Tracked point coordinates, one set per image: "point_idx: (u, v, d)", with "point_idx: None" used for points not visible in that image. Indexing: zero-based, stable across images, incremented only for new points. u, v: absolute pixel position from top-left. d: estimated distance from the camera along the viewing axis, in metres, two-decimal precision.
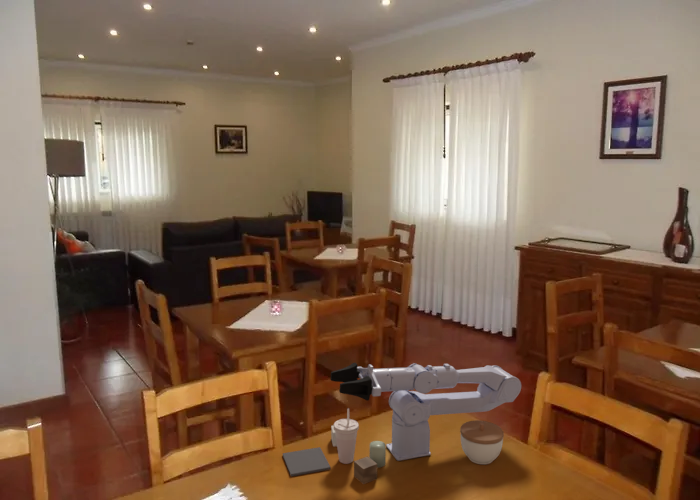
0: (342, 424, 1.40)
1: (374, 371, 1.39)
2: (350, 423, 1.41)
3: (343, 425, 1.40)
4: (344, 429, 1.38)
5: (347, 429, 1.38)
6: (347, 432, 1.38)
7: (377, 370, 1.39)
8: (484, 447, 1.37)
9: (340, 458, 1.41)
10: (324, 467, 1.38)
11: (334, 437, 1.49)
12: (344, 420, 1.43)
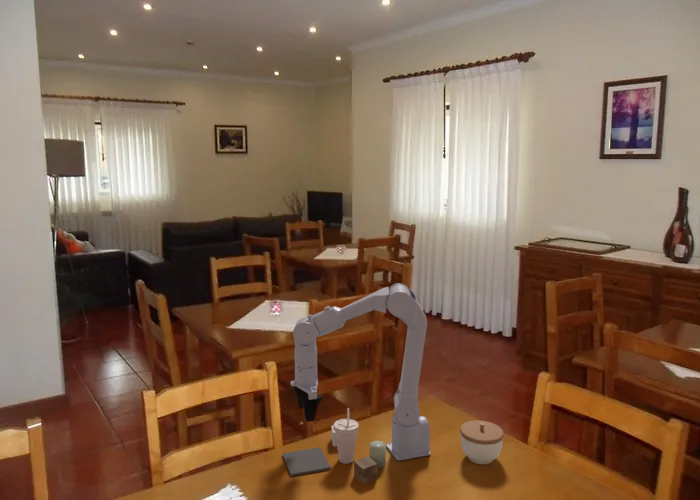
0: (342, 424, 1.40)
1: (296, 381, 1.43)
2: (350, 423, 1.41)
3: (343, 425, 1.40)
4: (344, 429, 1.38)
5: (347, 429, 1.38)
6: (347, 432, 1.38)
7: (296, 377, 1.43)
8: (484, 447, 1.37)
9: (340, 458, 1.41)
10: (324, 467, 1.38)
11: (334, 437, 1.49)
12: (344, 420, 1.43)
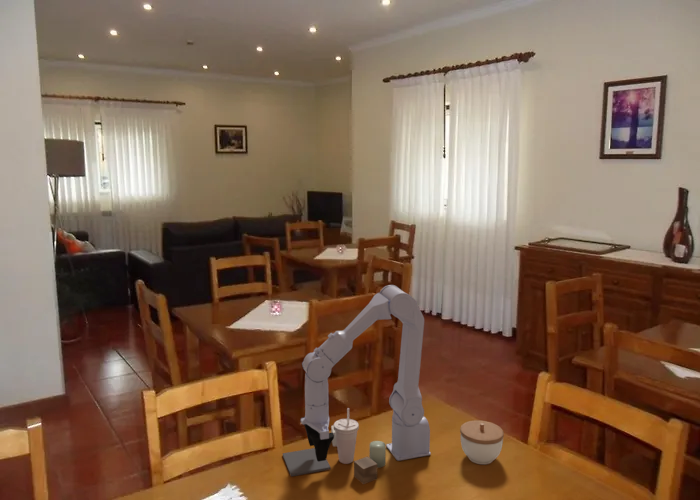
0: (342, 424, 1.40)
1: (307, 419, 1.36)
2: (350, 423, 1.41)
3: (343, 425, 1.40)
4: (344, 429, 1.38)
5: (347, 429, 1.38)
6: (347, 432, 1.38)
7: (306, 415, 1.36)
8: (484, 447, 1.37)
9: (340, 458, 1.41)
10: (324, 467, 1.38)
11: (334, 437, 1.49)
12: (344, 420, 1.43)
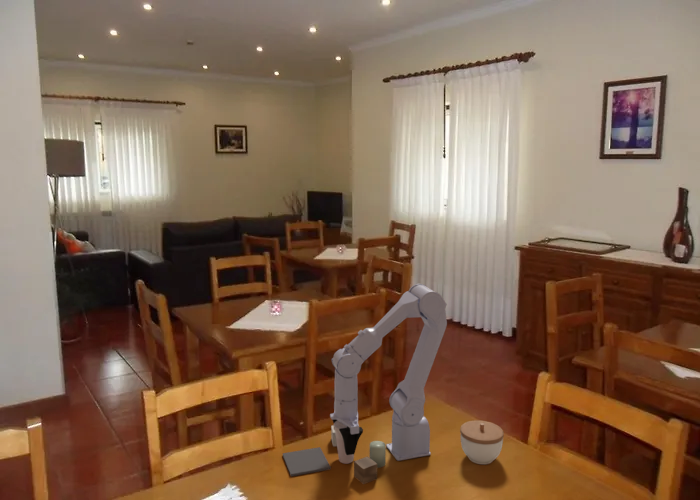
0: (342, 424, 1.41)
1: (336, 414, 1.39)
2: None
3: (343, 425, 1.40)
4: None
5: None
6: None
7: (336, 410, 1.39)
8: (484, 447, 1.37)
9: (340, 458, 1.41)
10: (324, 467, 1.38)
11: (334, 437, 1.49)
12: None
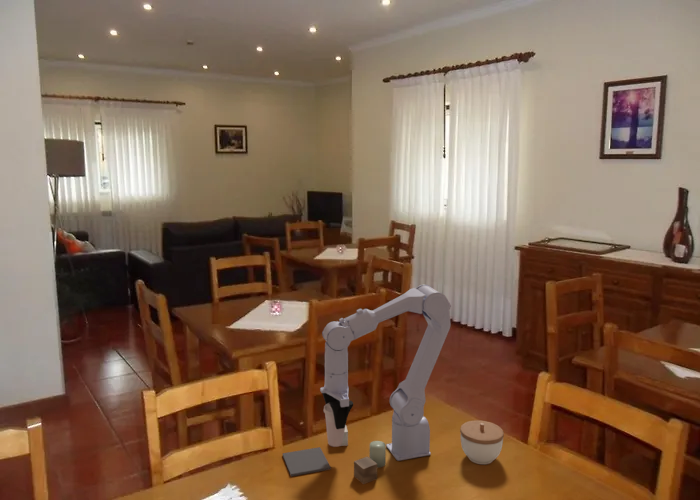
0: None
1: (326, 388, 1.37)
2: None
3: None
4: None
5: None
6: None
7: (326, 384, 1.37)
8: (484, 447, 1.37)
9: (329, 441, 1.40)
10: (324, 467, 1.38)
11: None
12: None
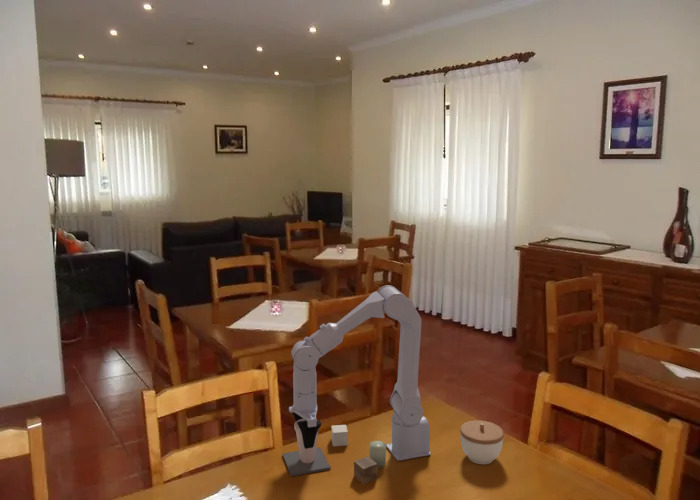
0: None
1: (295, 407, 1.37)
2: None
3: None
4: None
5: None
6: None
7: (294, 403, 1.37)
8: (484, 447, 1.37)
9: (301, 458, 1.40)
10: (324, 467, 1.38)
11: (334, 437, 1.49)
12: None
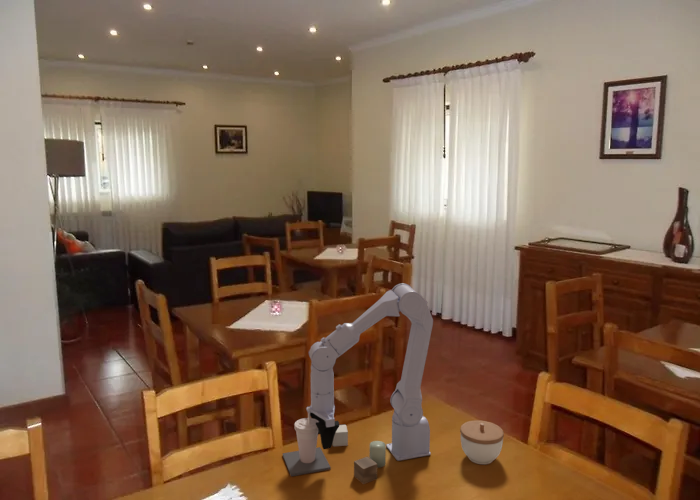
0: (303, 423, 1.40)
1: (312, 407, 1.38)
2: (311, 422, 1.40)
3: (304, 424, 1.39)
4: (304, 428, 1.37)
5: (307, 428, 1.38)
6: (307, 431, 1.37)
7: (312, 403, 1.39)
8: (484, 447, 1.37)
9: (301, 458, 1.40)
10: (324, 467, 1.38)
11: (334, 437, 1.49)
12: (305, 419, 1.42)
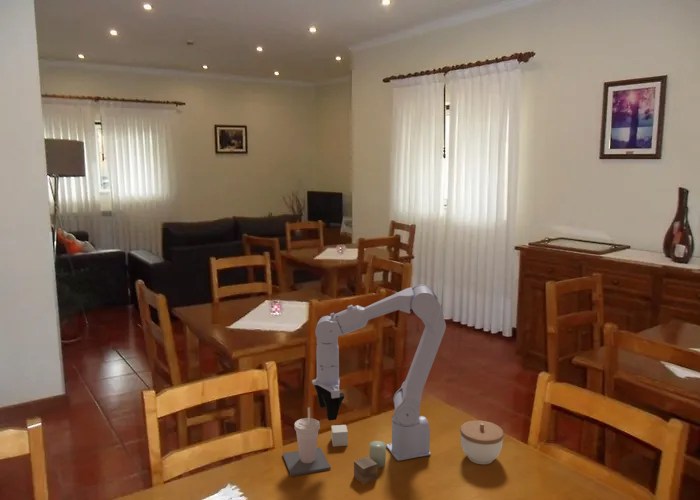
0: (303, 423, 1.40)
1: (318, 380, 1.42)
2: (311, 422, 1.40)
3: (304, 424, 1.39)
4: (304, 428, 1.37)
5: (307, 428, 1.38)
6: (307, 431, 1.37)
7: (317, 376, 1.42)
8: (484, 447, 1.37)
9: (301, 458, 1.40)
10: (324, 467, 1.38)
11: (334, 437, 1.49)
12: (305, 419, 1.42)
